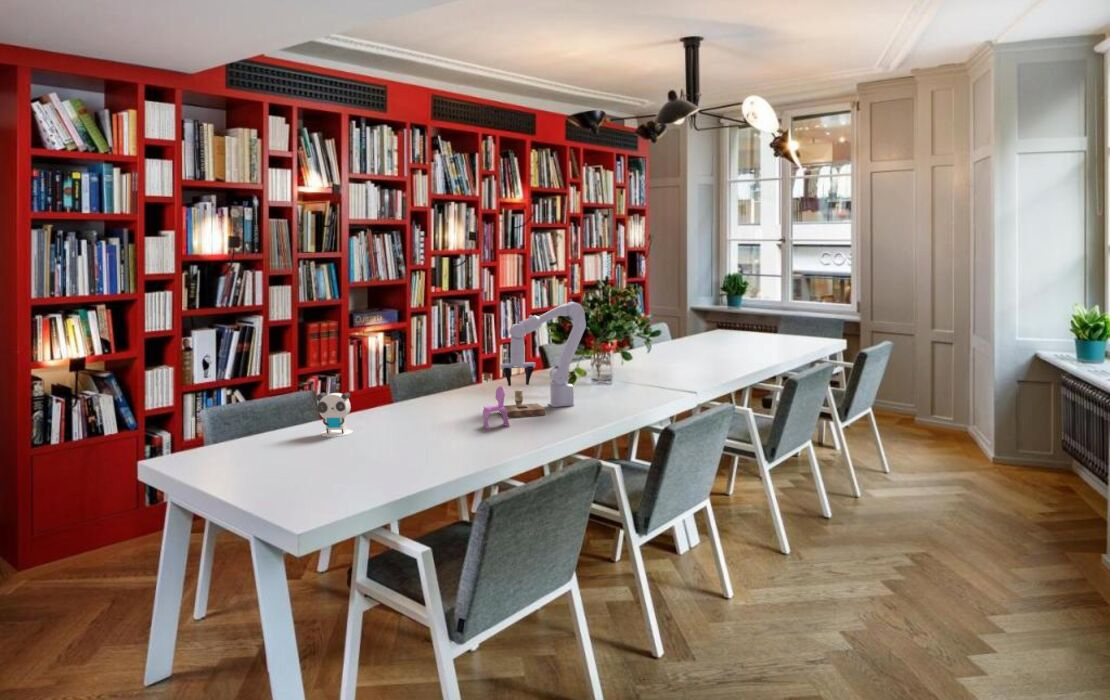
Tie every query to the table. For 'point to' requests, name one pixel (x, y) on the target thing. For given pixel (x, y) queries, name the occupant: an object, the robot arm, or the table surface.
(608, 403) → the table surface
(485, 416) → the toy chair
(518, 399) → the peg
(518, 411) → the board
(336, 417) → the panda figurine
